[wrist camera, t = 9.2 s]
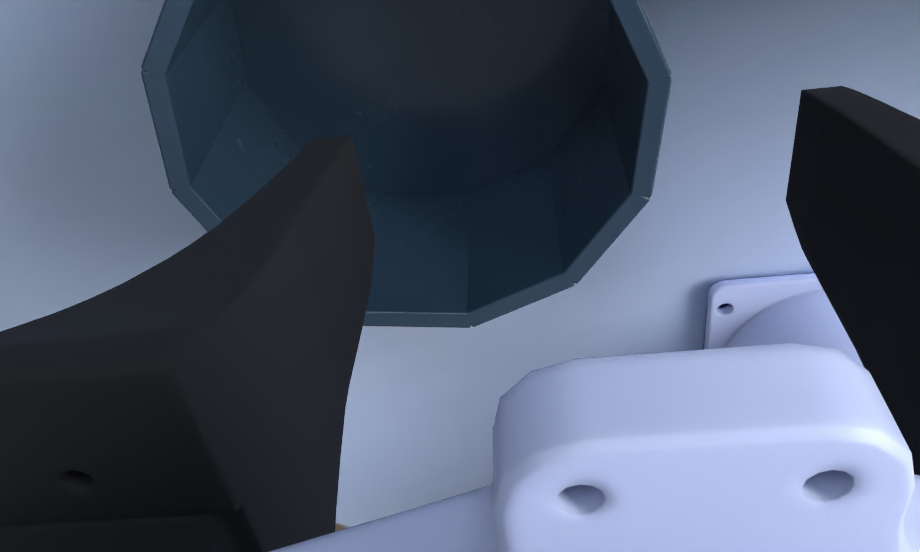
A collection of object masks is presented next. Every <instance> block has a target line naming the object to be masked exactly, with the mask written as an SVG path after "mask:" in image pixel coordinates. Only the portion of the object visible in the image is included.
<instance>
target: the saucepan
mask: <svg viewBox="0 0 920 552" xmlns="http://www.w3.org/2000/svg"><path fill="white" fill-rule="evenodd" d="M141 68H142V69H143V70H142V71H141V75H142V79H143V83H144V87H145V91H146V95H147V99H148V103H149V107H150V111H151V115H152V119H153V123H154V127H155V131H156V135H157V139H158V143H159V147H160V151H161V155H162V159H163V162H164V166H165V170H166V174H167V178H168V182H169V186H170V189H172V190H173V191H172V193H173V194H174V196H175V197H176V198H177V199H178V200H179V201H180V202H181V203H182V204H183V205H184V206H185V208H186V209H187V210H188V211H189V212H190V213H191V214H192V215H193V216H194V217H195V218H196V220H197V221H198V222H199V223H200V224H201V225H202V226H203V227H204V228H205V229H206V230H207V232H209V231H210V230H212V229H213V228H214V227H216V226H217V225H218V224H220V223H221V222H222V221H223V220H224V219H226V218H227V217H228V216H229V215H230V214H232V213H233V212H234V211H235V210H236V209H238V208H239V207H240V206H241V205H242V204H244V203H245V202H246V201H247V200H249V199H250V198H251V197H252V196H253V195H254V194H256V193H257V192H258V191H259V190H260V189H261V188H262V187H263V186H264V185H265V184H266V183H268V182H269V181H270V180H271V179H272V178H273V177H274V176H275V175H276V174H277V173H278V172H279V171H281V170H282V169H283V168H284V167H285V166H286V165H287V164H288V163H289V162H290V161H291V160H292V159H293V158H294V157H295V156H296V155H297V154H299V153H300V152H301V151H302V150H303V149H304V148H305V147H306V146H307V145H309V144H310V143H311V142H312V141H314V140H315V139H319V138H329V137H339V136H349V135H352V139H353V143H354V147H355V152H356V156H357V160H358V165H359V169H360V174H361V178H362V182H363V187H364V191H365V195H366V200H367V204H368V209H369V213H370V217H371V222H372V226H373V231H374V235H375V243H374V260H373V273H372V285H371V290H370V294H369V299H368V304H367V308H366V313H365V317H364V322H363V326H405V327H460V328H469V327H471V325H472V326H473V327H475V326H477V325H480V324H482V323H485V322H487V321H489V320H492V319H494V318H497V317H499V316H502V315H504V314H506V313H509V312H511V311H514V310H516V309H519V308H521V307H523V306H526V305H528V304H531V303H533V302H536V301H538V300H540V299H543V298H545V297H548V296H550V295H553V294H555V293H558V292H560V291H562V290H565V289H567V288H570V287H572V286H574V283H578V282H579V281H580V280H581V279H582V277H583V276H584V275H585V274H586V273H587V272H588V271H589V269H590V268H591V267H592V266H593V265H594V264H595V262H596V261H597V260H598V259H599V258H600V257H601V256H602V254H603V253H604V252H605V251H606V250H607V249H608V247H609V246H610V245H611V244H612V243H613V242H614V241H615V239H616V238H617V237H618V236H619V235H620V234H621V232H622V231H623V230H624V229H625V228H626V227H627V226H628V224H629V223H630V222H631V221H632V220H633V219H634V217H635V216H636V215H637V214H638V213H639V212H640V211H641V209H642V208H643V207H644V206H645V205H646V204H647V202H648V201H649V199H650V198H649V197H651V195H652V191H653V185H654V179H655V174H656V168H657V162H658V156H659V150H660V145H661V139H662V133H663V127H664V122H665V116H666V110H667V104H668V98H669V93H670V87H671V81H672V79H671V72H670V69H669V67H668V65H667V62H666V60H665V58H664V55H663V53H662V51H661V48H660V46H659V43H658V41H657V39H656V36H655V34H654V32H653V29H652V27H651V24H650V22H649V20H648V17H647V15H646V13H645V10H644V8H643V6H642V3H641V1H640V0H165V2H164V4H163V7H162V10H161V13H160V16H159V18H158V21H157V24H156V27H155V29H154V32H153V35H152V38H151V40H150V43H149V46H148V49H147V52H146V54H145V57H144V60H143V63H142V65H141Z"/></svg>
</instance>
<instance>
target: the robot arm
mask: <svg viewBox="0 0 920 552" xmlns="http://www.w3.org/2000/svg"><path fill="white" fill-rule="evenodd" d="M786 202H787V205H788V209H789V212H790V215H791V218H792V221H793V224H794V228H795V230H796V233H797V236H798V239H799V242H800V245H801V247H802V250H803V252H804V254H805V256H806V258H807V260H808V262H809V264H810V265H811V267H812V269H813V271H814V273H808V274H796V275H783V276H770V277H758V278H745V279H733V280H723V281H719V282H717V283H715V284H714V285H713V286H712V287H711V288H710V290H709V294H708V307H707V319H706V332H705V344H704V350H690V351H676V352H662V353H649V354H635V355H621V356H607V357H593V358H579V359H574V360H571V361H567V362H563V363H559V364H556V365H552V366H548V367H545V368H541V369H537V370H533V371H531V372H530V373H528V374H527V375H526V376H525V377H524V378H522V379H521V380H520V381H519V382H518V383H517V384H515V385H514V386H513V387H512V388H511V389H509V390H508V391H507V392H506V393H505V394H504V395H502V396H501V397H500V401H499V405H498V409H497V413H496V418H495V422H494V426H493V483H492V484H491V485H489V486H486V487H483V488H480V489H476V490H473V491H470V492H466V493H463V494H460V495H456V496H453V497H450V498H446V499H443V500H440V501H436V502H433V503H430V504H426V505H423V506H420V507H416V508H413V509H410V510H406V511H403V512H400V513H396V514H393V515H390V516H386V517H383V518H380V519H376V520H373V521H370V522H366V523H363V524H360V525H356V526H353V527H350V528H346V529H343V530H340V531H336V532H335V521H336V505H337V492H338V480H339V467H340V455H341V445H342V435H343V425H344V415H345V407H346V401H347V395H348V389H349V384H350V379H351V375H352V371H353V366H354V362H355V357H356V353H357V348H358V344H359V340H360V335H361V331H362V326H363V322H364V317H365V313H366V308H367V304H368V299H369V294H370V290H371V285H372V273H373V260H374V243H375V235H374V231H373V226H372V222H371V217H370V213H369V209H368V204H367V200H366V195H365V191H364V187H363V182H362V178H361V174H360V169H359V165H358V160H357V156H356V152H355V147H354V143H353V139H352V135H349V136H339V137H329V138H319V139H315V140H314V141H312V142H311V143H310V144H309V145H307V146H306V147H305V148H304V149H303V150H302V151H301V152H300V153H299V154H297V155H296V156H295V157H294V158H293V159H292V160H291V161H290V162H289V163H288V164H287V165H286V166H285V167H284V168H283V169H282V170H281V171H279V172H278V173H277V174H276V175H275V176H274V177H273V178H272V179H271V180H270V181H269V182H268V183H266V184H265V185H264V186H263V187H262V188H261V189H260V190H259V191H258V192H257V193H256V194H254V195H253V196H252V197H251V198H250V199H249V200H247V201H246V202H245V203H244V204H242V205H241V206H240V207H239V208H238V209H236V210H235V211H234V212H233V213H232V214H230V215H229V216H228V217H227V218H226V219H224V220H223V221H222V222H221V223H220V224H218V225H217V226H216V227H214V228H213V229H212V230H210V231H209V232H207V233H206V234H205V235H203V236H202V237H201V238H199V239H198V240H196V241H195V242H193V243H192V244H190V245H189V246H187V247H186V248H184V249H182V250H181V251H179V252H178V253H176V254H175V255H173V256H172V257H170V258H168V259H167V260H165V261H163V262H161V263H159V264H157V265H156V266H154V267H152V268H150V269H148V270H146V271H145V272H143V273H141V274H139V275H137V276H136V277H134V278H132V279H130V280H128V281H126V282H125V283H123V284H121V285H118V286H116V287H114V288H112V289H110V290H108V291H106V292H103V293H101V294H99V295H97V296H95V297H93V298H90V299H88V300H85V301H83V302H81V303H78V304H76V305H74V306H71V307H69V308H66V309H64V310H61V311H59V312H56V313H53V314H51V315H48V316H45V317H42V318H39V319H36V320H33V321H30V322H28V323H25V324H22V325H19V326H16V327H13V328H10V329H7V330H4V331H1V332H0V552H920V120H919V119H917V118H915V117H913V116H911V115H909V114H906V113H904V112H902V111H900V110H898V109H896V108H894V107H892V106H889V105H887V104H885V103H883V102H881V101H879V100H876V99H874V98H872V97H870V96H867V95H865V94H863V93H860V92H858V91H855V90H853V89H850V88H846V87H843V86H838V87H828V88H818V89H808V90H801V97H800V104H799V111H798V118H797V125H796V132H795V139H794V147H793V154H792V161H791V168H790V175H789V182H788V189H787V196H786ZM725 303H726V304H729V305H727V306H726V307H723V308H719V306H720V305H721V304H725Z"/></svg>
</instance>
